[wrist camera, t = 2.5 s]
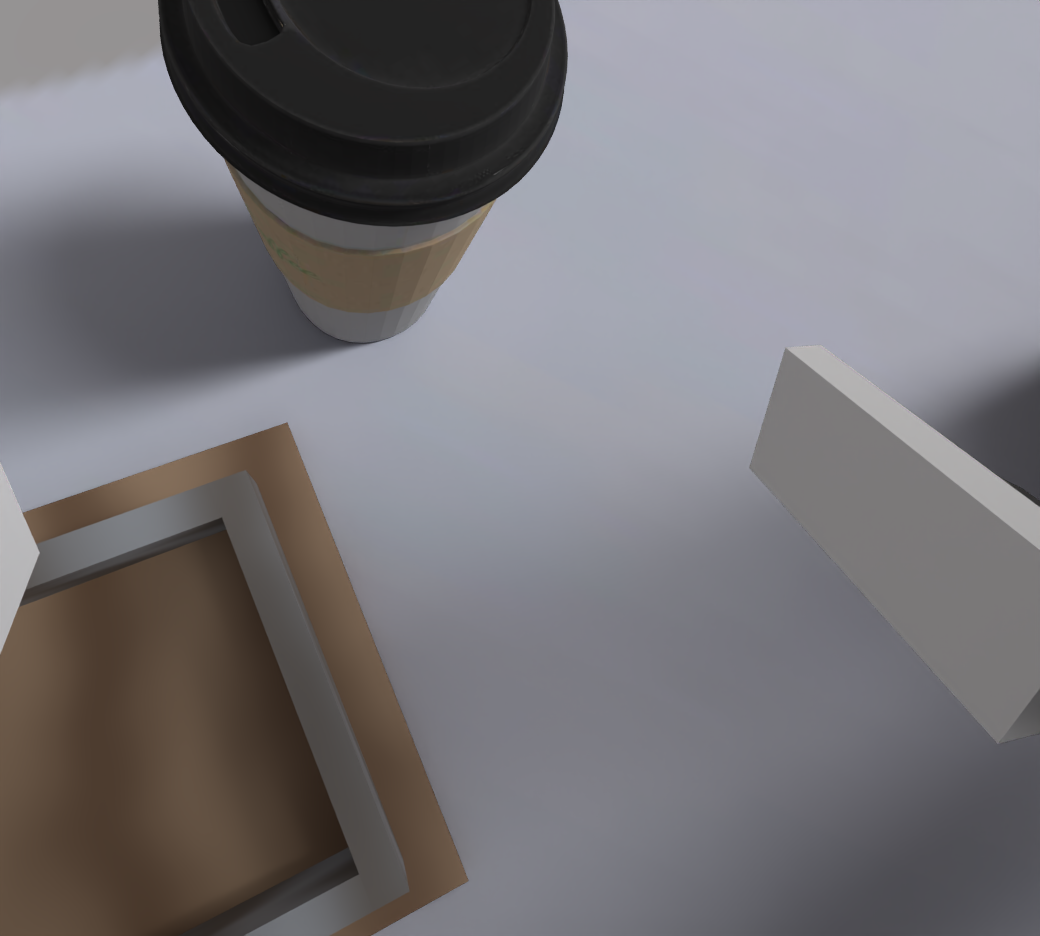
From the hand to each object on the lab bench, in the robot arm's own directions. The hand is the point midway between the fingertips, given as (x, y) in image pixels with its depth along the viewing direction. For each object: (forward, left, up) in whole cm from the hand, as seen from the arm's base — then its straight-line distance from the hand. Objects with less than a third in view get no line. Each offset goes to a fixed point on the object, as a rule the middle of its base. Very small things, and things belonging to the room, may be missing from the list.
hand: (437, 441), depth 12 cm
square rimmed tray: (+11, +4, -16) cm, 20 cm away
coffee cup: (-3, -10, -17) cm, 20 cm away
